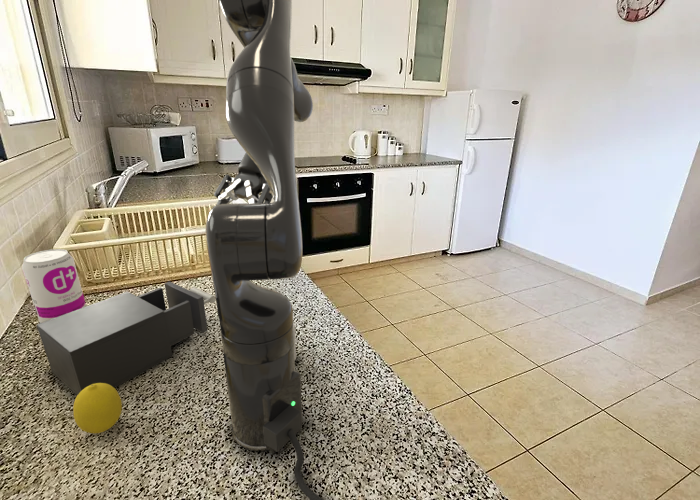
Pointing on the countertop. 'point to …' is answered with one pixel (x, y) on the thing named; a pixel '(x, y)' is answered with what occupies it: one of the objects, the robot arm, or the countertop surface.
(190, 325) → the fryer drawer
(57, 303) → the supplement can
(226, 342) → the robot arm
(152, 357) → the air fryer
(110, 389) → the lemon
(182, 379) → the countertop surface
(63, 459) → the countertop surface
